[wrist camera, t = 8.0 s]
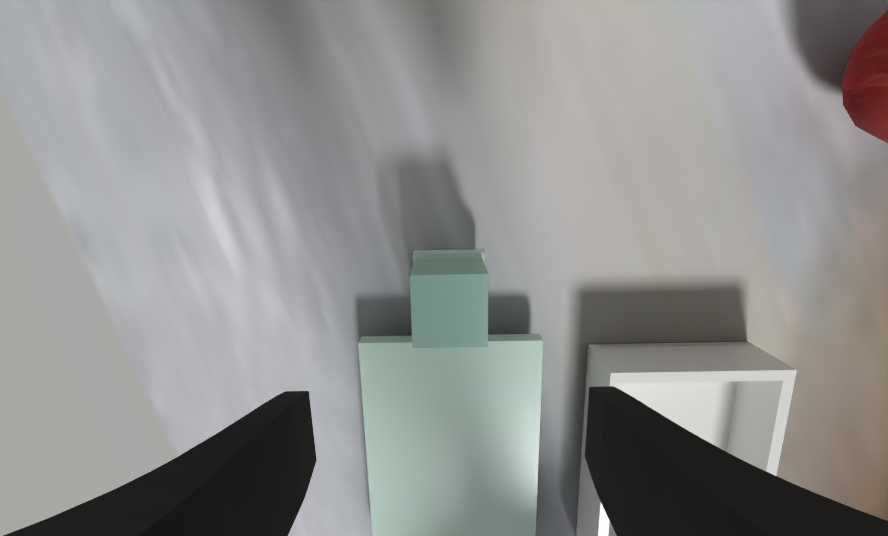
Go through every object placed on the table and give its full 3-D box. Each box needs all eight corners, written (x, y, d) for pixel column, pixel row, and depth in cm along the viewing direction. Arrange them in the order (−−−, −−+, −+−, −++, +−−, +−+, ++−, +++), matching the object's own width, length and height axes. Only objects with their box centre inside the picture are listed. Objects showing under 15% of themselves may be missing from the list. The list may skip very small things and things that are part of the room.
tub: (716, 536, 23) (754, 588, 21) (575, 537, 24) (593, 590, 21) (747, 341, 21) (796, 369, 18) (587, 344, 21) (610, 373, 18)
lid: (528, 530, 24) (545, 610, 19) (379, 532, 24) (364, 611, 20) (538, 244, 20) (562, 264, 15) (360, 247, 20) (335, 268, 16)
